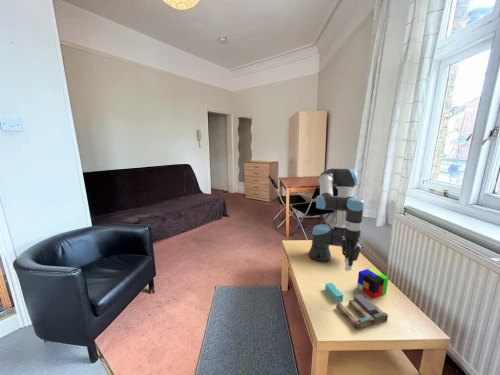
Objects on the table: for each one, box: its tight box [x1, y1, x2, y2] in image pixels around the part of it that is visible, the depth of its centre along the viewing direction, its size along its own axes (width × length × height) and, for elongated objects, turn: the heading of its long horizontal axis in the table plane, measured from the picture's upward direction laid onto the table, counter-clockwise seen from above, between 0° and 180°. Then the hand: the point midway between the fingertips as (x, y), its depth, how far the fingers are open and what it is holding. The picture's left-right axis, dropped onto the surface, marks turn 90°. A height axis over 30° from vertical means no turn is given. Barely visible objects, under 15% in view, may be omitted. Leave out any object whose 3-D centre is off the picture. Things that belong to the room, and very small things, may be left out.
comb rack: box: [335, 296, 389, 331], centre depth 99 cm, size 13×18×4 cm
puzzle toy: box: [356, 267, 389, 300], centre depth 114 cm, size 10×10×10 cm
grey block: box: [353, 294, 377, 316], centre depth 102 cm, size 10×4×4 cm, turn 15°
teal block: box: [324, 282, 344, 303], centre depth 111 cm, size 10×4×4 cm, turn 11°
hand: (348, 269), depth 110 cm, fingers closed
